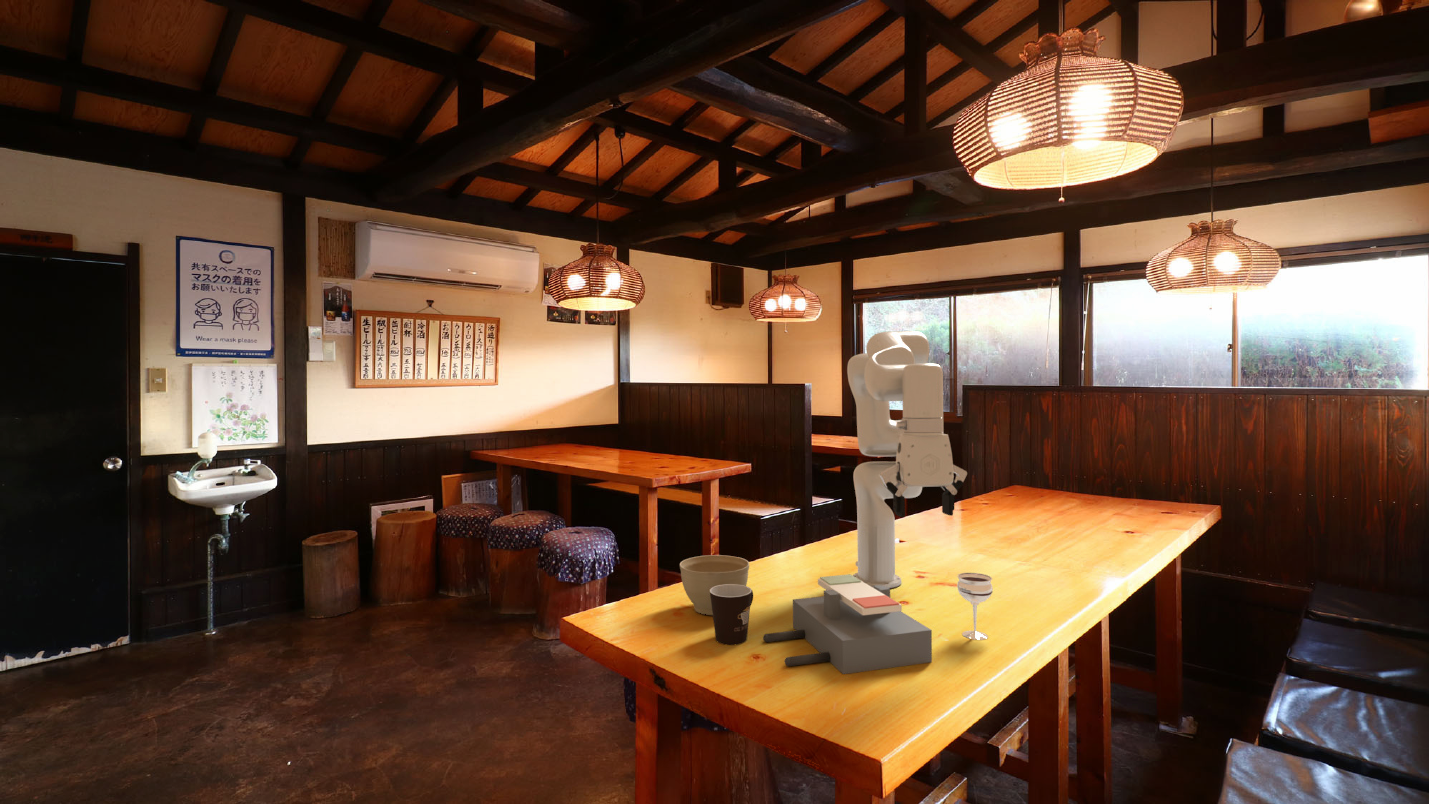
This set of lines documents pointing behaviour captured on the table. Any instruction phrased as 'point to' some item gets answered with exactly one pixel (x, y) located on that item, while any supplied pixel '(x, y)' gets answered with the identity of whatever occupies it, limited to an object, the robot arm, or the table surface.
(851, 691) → the table surface
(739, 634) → the coffee mug
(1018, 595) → the table surface
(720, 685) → the table surface
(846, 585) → the breaker paddle
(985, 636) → the wineglass
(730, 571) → the planter bowl
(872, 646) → the box
